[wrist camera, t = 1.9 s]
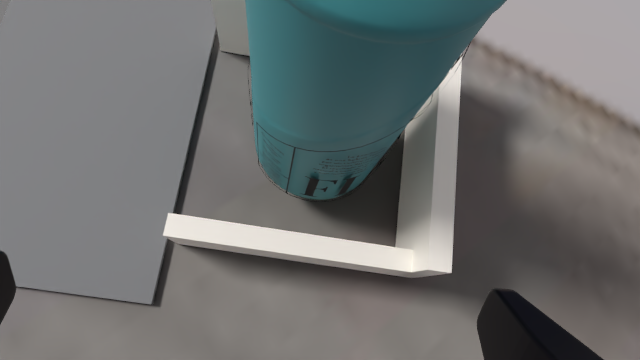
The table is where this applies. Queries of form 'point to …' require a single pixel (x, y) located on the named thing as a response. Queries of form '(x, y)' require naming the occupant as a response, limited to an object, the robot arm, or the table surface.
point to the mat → (96, 137)
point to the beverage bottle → (346, 81)
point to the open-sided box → (414, 202)
